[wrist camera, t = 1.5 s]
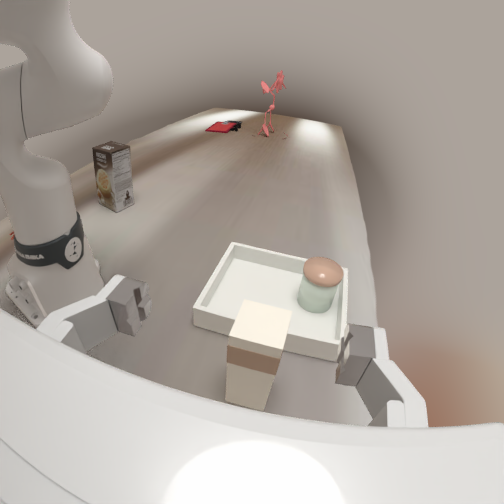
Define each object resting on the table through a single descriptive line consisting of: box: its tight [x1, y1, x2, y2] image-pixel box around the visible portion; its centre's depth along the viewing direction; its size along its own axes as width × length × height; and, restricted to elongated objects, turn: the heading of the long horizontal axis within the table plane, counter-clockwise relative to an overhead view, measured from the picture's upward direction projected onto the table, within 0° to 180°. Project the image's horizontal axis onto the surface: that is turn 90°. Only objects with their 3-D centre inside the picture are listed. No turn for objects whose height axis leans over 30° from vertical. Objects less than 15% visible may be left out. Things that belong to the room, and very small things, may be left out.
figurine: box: [252, 71, 288, 139], centre depth 135 cm, size 15×26×35 cm, turn 159°
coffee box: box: [92, 141, 134, 212], centre depth 68 cm, size 9×6×16 cm
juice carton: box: [225, 299, 292, 412], centre depth 32 cm, size 5×5×14 cm
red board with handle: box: [205, 121, 241, 133], centre depth 153 cm, size 30×3×15 cm
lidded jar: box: [297, 257, 344, 313], centre depth 48 cm, size 6×6×7 cm
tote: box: [193, 242, 348, 362], centre depth 48 cm, size 22×18×4 cm
